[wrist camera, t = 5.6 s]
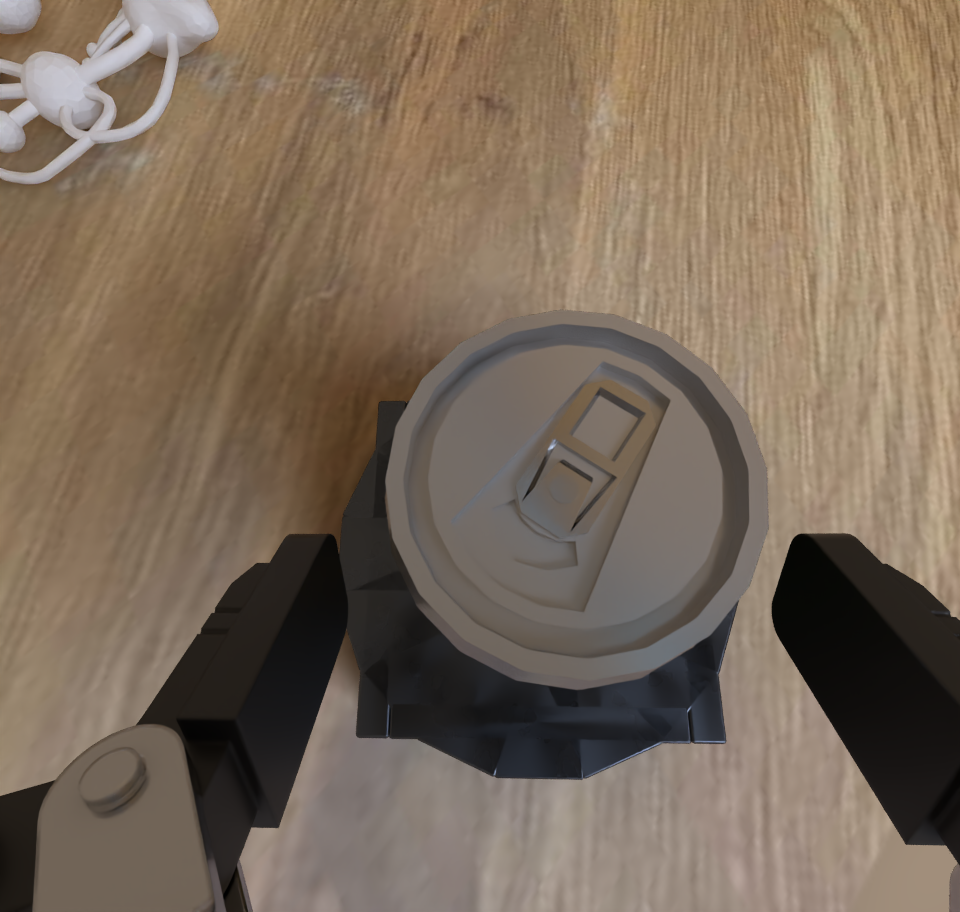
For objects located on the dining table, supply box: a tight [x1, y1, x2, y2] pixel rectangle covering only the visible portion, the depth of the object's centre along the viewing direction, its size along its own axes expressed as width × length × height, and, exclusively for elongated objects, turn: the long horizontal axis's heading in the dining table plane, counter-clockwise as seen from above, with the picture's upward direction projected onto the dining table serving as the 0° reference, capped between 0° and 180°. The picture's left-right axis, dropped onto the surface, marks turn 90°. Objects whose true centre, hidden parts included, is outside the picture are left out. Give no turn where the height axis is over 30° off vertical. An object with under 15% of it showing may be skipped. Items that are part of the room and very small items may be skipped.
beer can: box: [385, 310, 769, 690], centre depth 12 cm, size 5×5×12 cm
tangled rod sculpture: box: [0, 0, 219, 185], centre depth 24 cm, size 19×14×4 cm
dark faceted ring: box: [339, 401, 739, 780], centre depth 17 cm, size 12×12×3 cm
